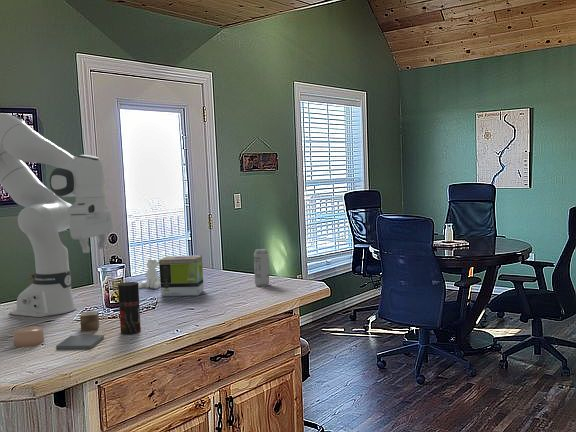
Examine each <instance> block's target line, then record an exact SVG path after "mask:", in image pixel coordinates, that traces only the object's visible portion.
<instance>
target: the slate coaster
mask: <svg viewBox="0 0 576 432" xmlns="http://www.w3.org/2000/svg"><path fill="white" fill-rule="evenodd" d="M103 340H105V334H90V335H89V334H87V335H85V334H84V335H83V334H82V335H81V334H79V335H78V334H77V335H76V334H75V335H74V334H73V335H69V336H68V337H67V338H65V339H64V340H62V341H60V343H58V344H57V345H56V346H55V349H56V350H92V349H93V348H95V347H96V345H98V344H99V343H100V342H101V341H103Z"/></svg>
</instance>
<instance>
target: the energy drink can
mask: <svg viewBox="0 0 576 432" xmlns="http://www.w3.org/2000/svg"><path fill="white" fill-rule="evenodd" d="M269 262H270V261H269V252H268V251H267V248H256V249H254V253H253V267H254V269H253V270H254V272H253V273H254V284H255V286H256V287H267V286H269V284H270V269H269V268H270V265H269Z"/></svg>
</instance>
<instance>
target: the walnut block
mask: <svg viewBox="0 0 576 432" xmlns="http://www.w3.org/2000/svg"><path fill="white" fill-rule="evenodd" d="M79 320H80V332H81V333H82V332H92V331H99V328H100V316H99V310H95V311H93V310H92V311H82V312H81V313H80V315H79Z"/></svg>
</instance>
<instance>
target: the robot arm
mask: <svg viewBox="0 0 576 432" xmlns="http://www.w3.org/2000/svg"><path fill="white" fill-rule="evenodd" d="M26 163H34V164H35V163H36V164H42V165H43V164H44V165H49V166H52V167H55V168H54V169H53V171H51V173H50V175H49V180H48V181H49V182H48V183H49V187H50V189H49V188H48V187H47V186H45V184H44V183H43V182H42V181H40V180H39V178H38V177H37V175H36V174H35V173H34V172H33V171H32V169H31V168H30V167H29V166H28V165H27V164H26ZM104 185H105V176H104V167H103V163H102V160H101V159H100V157H98V156H95V155H89V154H77V155H76V156H74V155H72V154H71V153H70V152H68V151H67V150H65V149H63V148H62V147H61V146H58V145H57V144H55V143H54V142H52V141H51V140H49V139H47V138H45V137H44V136H43V135H41V134H40V133H39V132H37V131H36V130H34V129H33V128H31V127H30V126H29V125H28V123H26V122H25V120H23V118H21V117H19V116H17V115H12V114H10V113H5V112H1V113H0V186H1V187H2V188H3V189H4V191H6V193H7V194H8V195H9V196H10V197H11V199H12V200H13V202H15V203H16V204H17V205H19V206H21V207H24V208H23V209H22V210H20V212H19V214H18V216H17V224H18V228H19V230H21V231H22V233H24V234H25V235H26V236H27V238H28V239H29V242H30V244H31V247H32V251H33V254H34V255H33V256H34V263H35V264H34V265H35V273H33V274H31V275H28V276H29V280H32V281H31V283H30V285H29V286H27V287H26V288H25V289H23V291H22V292H20V293H19V294H18V295H17V299H16V307H14V308H12V309H10V311H9V315H16V316H24V317H35V318H42V317H47V316H54V315H55V316H56V315H61V314H67V313H69V312H72V311H74V310H76V309H77V306H76V303H75V299H74V296H73V291H72V273H71V269H70V265H69V264H70V261H69V250H68V248H67V247H66V246H65V245H64V244H63V243H62V241H61V238H60V234H59V232H64V231H67V230H69V234H70V238H71V239H72V240H79V241H78V242H79V244H80V246H81V249H82V253H83V254H89V253H90V252H91V246H89V244H88V242H89V239H90V238H93V237H98V238H99V239H98V242H97V249H98V250H101V249H102V250H103V249H105V248H106V242H107V241H106V240H107V234H111V233H112V232H113V230H114V229H113V227H114V226H113V219H112V214H111V212H110V210H109V208H108V207H107V203H106V201H107V200H106V193H105V190H104ZM60 197H62V198H60ZM68 197H69V198H71V197H72V198H73V197H74V198H75V201H74V202H73V204H72V203H69V202H67V201H65V200H64V199H63V198H68Z"/></svg>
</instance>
